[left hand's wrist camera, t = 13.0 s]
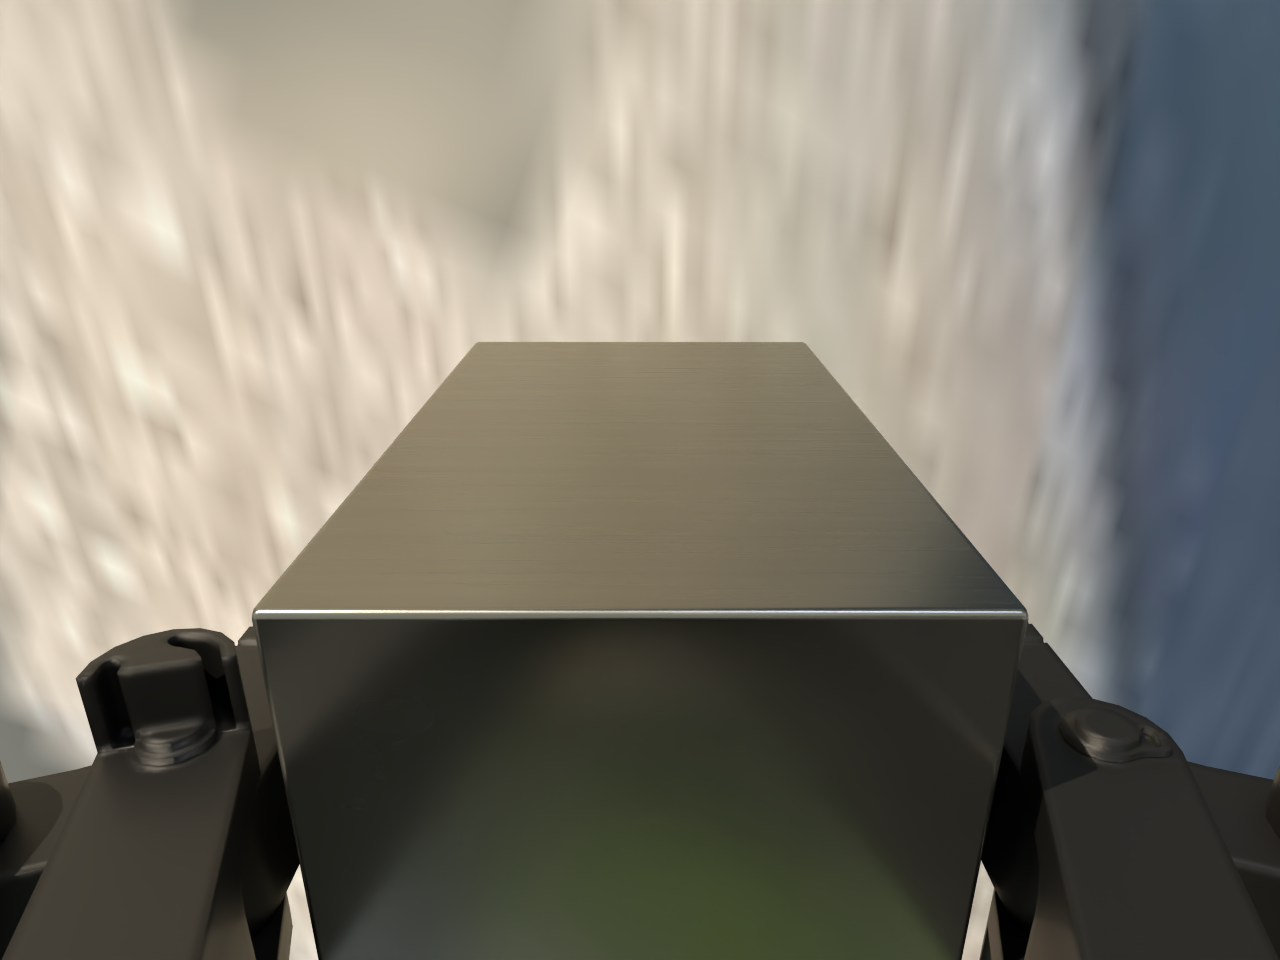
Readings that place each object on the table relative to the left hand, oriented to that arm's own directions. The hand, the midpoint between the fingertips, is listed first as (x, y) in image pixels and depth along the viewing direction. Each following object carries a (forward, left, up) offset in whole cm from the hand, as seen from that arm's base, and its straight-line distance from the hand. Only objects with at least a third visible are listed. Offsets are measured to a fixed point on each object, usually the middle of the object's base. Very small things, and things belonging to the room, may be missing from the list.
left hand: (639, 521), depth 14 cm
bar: (+10, +2, -1) cm, 10 cm away
